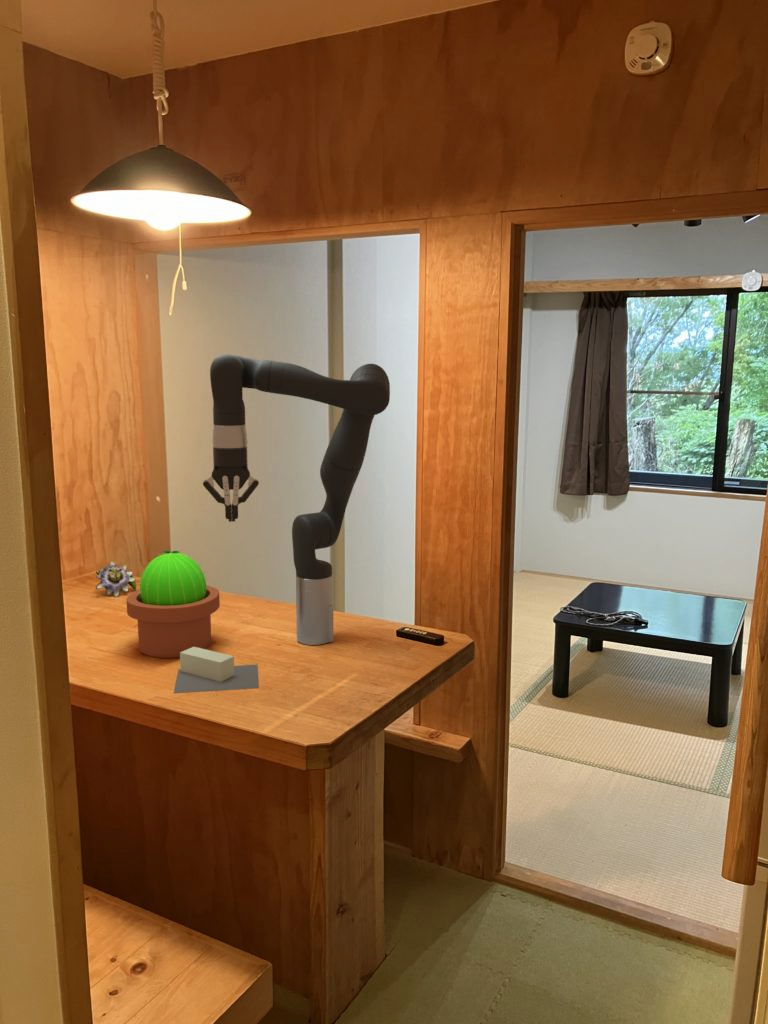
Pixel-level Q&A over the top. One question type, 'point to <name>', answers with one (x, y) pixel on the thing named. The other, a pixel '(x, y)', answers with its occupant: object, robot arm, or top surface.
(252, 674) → the rubber mat
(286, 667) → the top surface
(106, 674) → the top surface
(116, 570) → the passion flower
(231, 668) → the sage block
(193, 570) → the potted cactus
